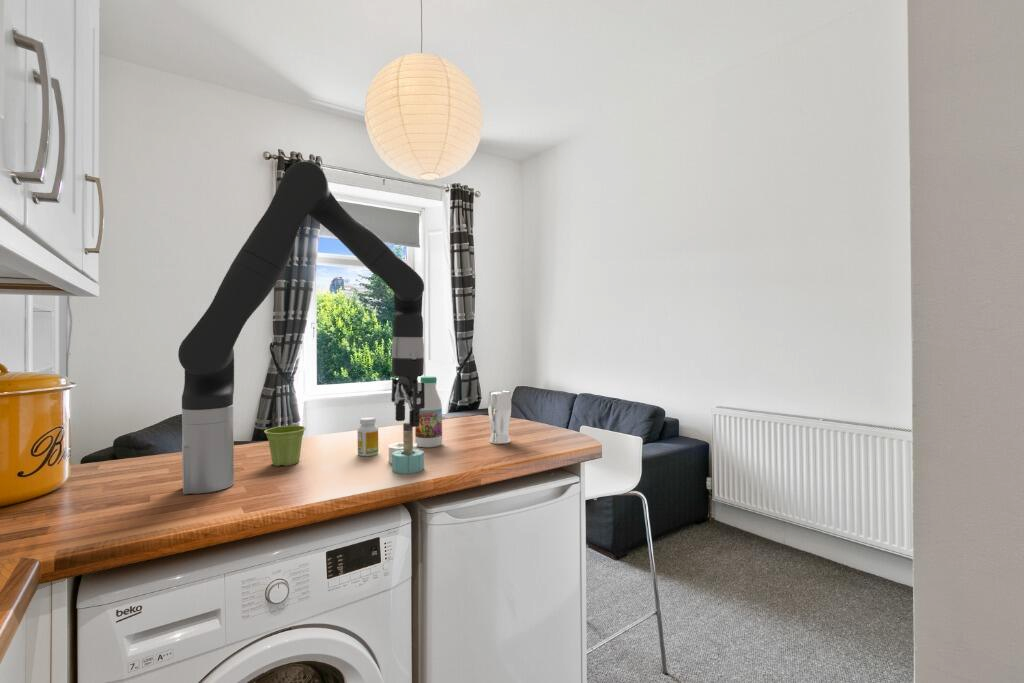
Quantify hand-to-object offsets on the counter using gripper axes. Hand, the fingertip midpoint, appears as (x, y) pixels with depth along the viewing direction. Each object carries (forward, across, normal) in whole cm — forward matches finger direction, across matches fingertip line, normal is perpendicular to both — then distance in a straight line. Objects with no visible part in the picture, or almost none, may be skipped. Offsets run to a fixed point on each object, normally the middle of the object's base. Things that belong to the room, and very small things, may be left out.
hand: (407, 423), depth 116 cm
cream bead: (+11, -8, +2) cm, 14 cm away
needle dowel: (+11, 0, 0) cm, 11 cm away
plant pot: (+12, -23, -23) cm, 34 cm away
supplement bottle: (+11, -20, -3) cm, 23 cm away
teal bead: (+11, 0, 0) cm, 11 cm away
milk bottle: (+11, -20, +15) cm, 28 cm away
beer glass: (+11, -11, +34) cm, 38 cm away
